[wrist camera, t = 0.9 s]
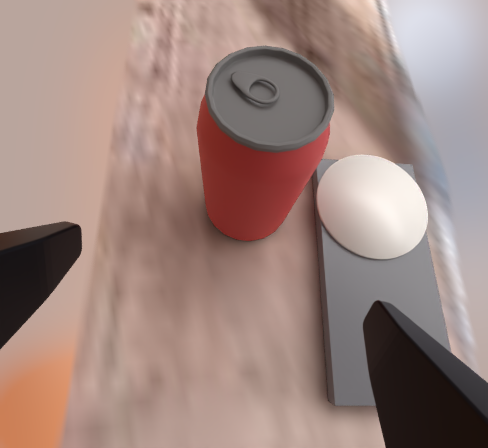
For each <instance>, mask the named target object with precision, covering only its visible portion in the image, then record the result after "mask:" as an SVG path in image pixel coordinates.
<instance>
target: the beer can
mask: <svg viewBox="0 0 488 448" xmlns="http://www.w3.org/2000/svg"><path fill="white" fill-rule="evenodd" d="M333 112H334V94H333V92H332V90H331V87H330V85H329V82H328V80H327V78H326V77H325V76H324V75H323V74H322V72H321V71H320V70H319V69H318V68H317V67H316V65H314V64H313V63H312V62H310V61H309V60H307V59H306V58H304V57H303V56H301V55H300V54H297V53H294V52H292V51H289V50H286V49H284V48H278V47H271V46H257V47H247V48H244V49H242V50H239V51H236V52H234V53H231V54H229V55H228V56H226V57H225V58H224V59H222V60H221V61H220V62H219V63H217V64H216V65H215V67H214V68H213V70H212V72H211V73H210V75H209V76H208V78H207V84H206V90H205V95H204V97H203V99H202V101H201V106H200V111H199V116H198V122H197V136H198V145H199V153H200V162H201V170H202V179H203V187H204V195H205V203H206V208H207V213H208V216H209V218H210V219H211V221H212V223H213V224H214V226H215V227H216V228H218V229H219V230H220V231H221V232H222V233H223V234H225V235H227V236H229V237H232V238H234V239H236V240H245V241H253V240H258V239H262V238H265V237H266V236H268V235H270V234H272V233H273V232H275V231H276V229H277V228H278V227H279V226H280V225H281V224H282V223H283V221H284V219H285V218H286V216H287V214H288V213H289V211H290V210H291V208H292V206H293V205H294V203H295V202H296V200H297V198H298V197H299V195H300V194H301V192H302V190H303V189H304V187H305V186H306V184H307V182H308V181H309V179H310V177H311V176H312V174H313V173H314V171H315V169H316V168H317V166H318V165H319V163H320V161H321V160H322V157H323V154H324V152H325V149H326V146H327V143H328V139H329V135H330V120H331V117H332V115H333Z"/></svg>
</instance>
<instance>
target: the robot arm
mask: <svg viewBox="0 0 488 448" xmlns="http://www.w3.org/2000/svg"><path fill="white" fill-rule="evenodd" d="M81 251H82V236H81V227H80V226H79V225H78V224H74V223H70V222H59V223H54V224H49V225H42V226H37V227H32V228H26V229H21V230H15V231H10V232H4V233H0V349H1V348H2V347H3V346H4V345H5V344H6V343H7V342H8V340H9V339H10V338H11V337H12V336H13V335H14V334H15V333H16V332H17V331H18V330H19V329H20V328H21V326H22V325H23V324H24V323H25V322H26V321H27V320H28V319H29V318H30V317H31V316H32V314H33V313H34V312H35V311H36V310H37V309H38V308H39V307H40V306H41V305H42V304H43V303H44V301H45V300H46V299H47V298H48V297H49V296H50V294H51V293H52V292H53V291H54V289H55V288H56V287H57V285H58V284H59V283H60V281H61V280H62V279H63V277H64V276H65V274H66V273H67V272H68V271H69V269H70V268H71V267H72V265H73V264H74V263H75V261H76V260H77V258H78V257H79V256H80V254H81ZM363 334H364V342H365V350H366V358H367V366H368V372H369V378H370V383H371V387H372V391H373V396H374V400H375V404H376V408H377V412H378V417H379V421H380V425H381V429H382V433H383V438H384V442H385V446H386V448H488V383H487V382H486V381H485V380H484V379H482V378H481V377H480V376H479V375H478V374H476V373H475V372H474V371H473V370H471V369H470V368H469V367H468V366H467V365H465V364H464V363H463V362H462V361H461V360H459V359H458V358H457V357H456V356H454V355H453V354H452V353H451V352H450V351H448V350H447V349H446V348H445V347H444V346H442V345H441V344H440V343H439V342H437V341H436V340H435V339H434V338H433V337H431V336H430V335H429V334H428V333H427V332H425V331H424V330H423V329H422V328H421V327H419V326H418V325H417V324H416V323H414V322H413V321H412V320H411V319H410V318H408V317H407V316H406V315H405V314H404V313H402V312H401V311H400V310H399V309H397V308H396V307H395V306H394V305H393V304H391V303H389V302H385V301H381V300H376V301H374V302H373V304H372V306H371V308H370V309H369V311H368V313H367V315H366V316H365V318H364V321H363Z"/></svg>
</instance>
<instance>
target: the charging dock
mask: <svg viewBox="0 0 488 448" xmlns="http://www.w3.org/2000/svg"><path fill="white" fill-rule="evenodd" d="M312 177H313V191H314V205H315V219H316V233H317V247H318V262H319V276H320V290H321V304H322V318H323V332H324V346H325V361H326V375H327V389H328V401H329V402H331V403H332V404H333V405H335V406H376V404H375V400H374V396H373V391H372V387H371V383H370V378H369V372H368V366H367V358H366V350H365V342H364V334H363V321H364V318H365V316H366V315H367V313H368V311H369V309H370V308H371V306H372V304H373V302H374V301H376V300H381V301H385V302H389V303H391V304H393V305H394V306H395V307H396V308H397V309H399V310H400V311H401V312H402V313H404V314H405V315H406V316H407V317H408V318H410V319H411V320H412V321H413V322H414V323H416V324H417V325H418V326H419V327H421V328H422V329H423V330H424V331H425V332H427V333H428V334H429V335H430V336H431V337H433V338H434V339H435V340H436V341H437V342H439V343H440V344H441V345H442V346H444V347H445V348H446V349H447V350H448V351H450V352H451V348H450V344H449V339H448V334H447V329H446V324H445V319H444V315H443V310H442V305H441V300H440V295H439V291H438V286H437V281H436V276H435V271H434V266H433V262H432V257H431V252H430V247H429V242H428V238H427V233H426V227H427V221H428V212H427V205H426V202H425V199H424V196H423V194H422V192H421V190H420V188H419V186H418V185H417V184H416V180H415V175H414V170H413V165H411V164H395V163H393V162H390V161H388V160H386V159H383V158H381V157H377V156H373V155H352V156H348V157H345V158H342V159H340V160H330V159H322V160H321V161H320V163H319V165H318V166H317V168H316V169H315V171H314V173H313V174H312Z"/></svg>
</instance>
